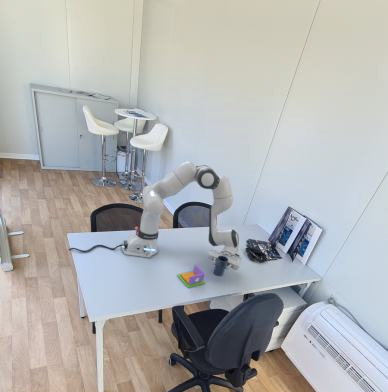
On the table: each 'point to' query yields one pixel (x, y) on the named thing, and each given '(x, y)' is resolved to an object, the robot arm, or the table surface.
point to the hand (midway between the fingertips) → (220, 266)
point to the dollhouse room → (192, 277)
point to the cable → (254, 255)
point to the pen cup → (220, 265)
